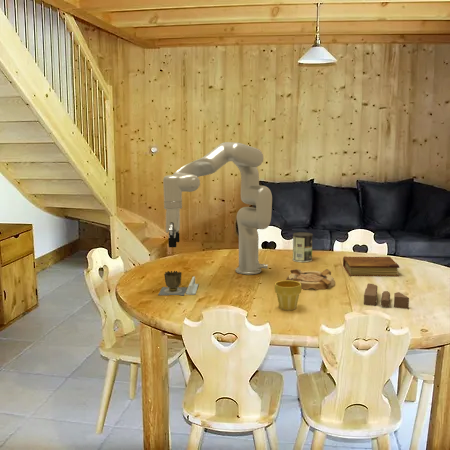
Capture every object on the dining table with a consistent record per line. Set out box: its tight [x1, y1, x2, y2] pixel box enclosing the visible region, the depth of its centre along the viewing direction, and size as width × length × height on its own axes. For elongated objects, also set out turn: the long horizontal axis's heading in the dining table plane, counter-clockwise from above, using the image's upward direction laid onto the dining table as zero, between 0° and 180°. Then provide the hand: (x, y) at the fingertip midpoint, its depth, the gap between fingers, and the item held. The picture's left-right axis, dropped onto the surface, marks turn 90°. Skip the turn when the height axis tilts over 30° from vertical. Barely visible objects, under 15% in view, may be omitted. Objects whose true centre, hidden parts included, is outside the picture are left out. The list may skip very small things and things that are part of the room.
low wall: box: [185, 276, 199, 296], centre depth 240 cm, size 4×14×4 cm, turn 177°
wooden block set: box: [363, 283, 410, 309], centre depth 224 cm, size 17×6×18 cm
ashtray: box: [286, 268, 336, 291], centre depth 250 cm, size 24×24×5 cm
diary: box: [342, 256, 400, 278], centre depth 269 cm, size 23×19×6 cm
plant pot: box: [274, 280, 302, 311], centre depth 216 cm, size 10×10×10 cm
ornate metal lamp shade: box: [163, 270, 183, 292], centre depth 237 cm, size 8×7×8 cm
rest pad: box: [157, 286, 188, 297], centre depth 238 cm, size 11×11×1 cm
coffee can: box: [292, 231, 314, 263], centre depth 290 cm, size 10×10×14 cm
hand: (174, 244), depth 235 cm, fingers open, 9 cm apart
